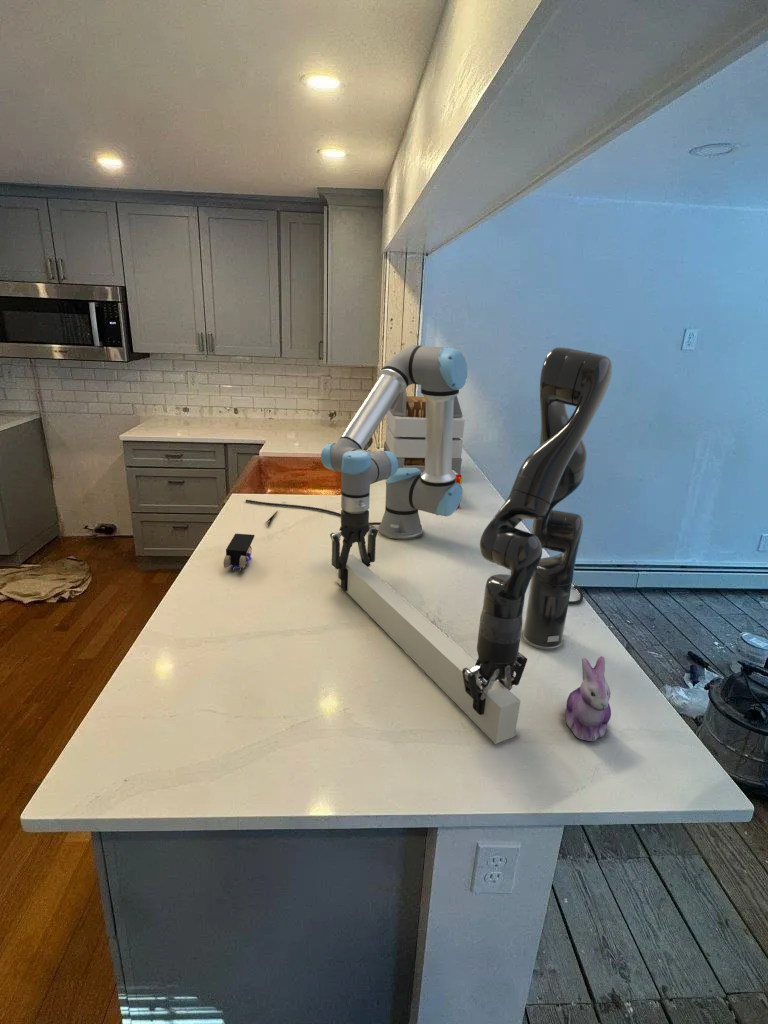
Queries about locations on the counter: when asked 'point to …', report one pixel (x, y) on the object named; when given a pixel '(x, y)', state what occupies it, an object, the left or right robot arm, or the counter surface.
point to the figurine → (590, 703)
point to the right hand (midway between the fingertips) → (490, 707)
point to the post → (431, 650)
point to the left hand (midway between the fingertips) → (352, 587)
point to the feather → (271, 519)
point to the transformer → (417, 431)
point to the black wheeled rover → (238, 551)
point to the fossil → (368, 444)
